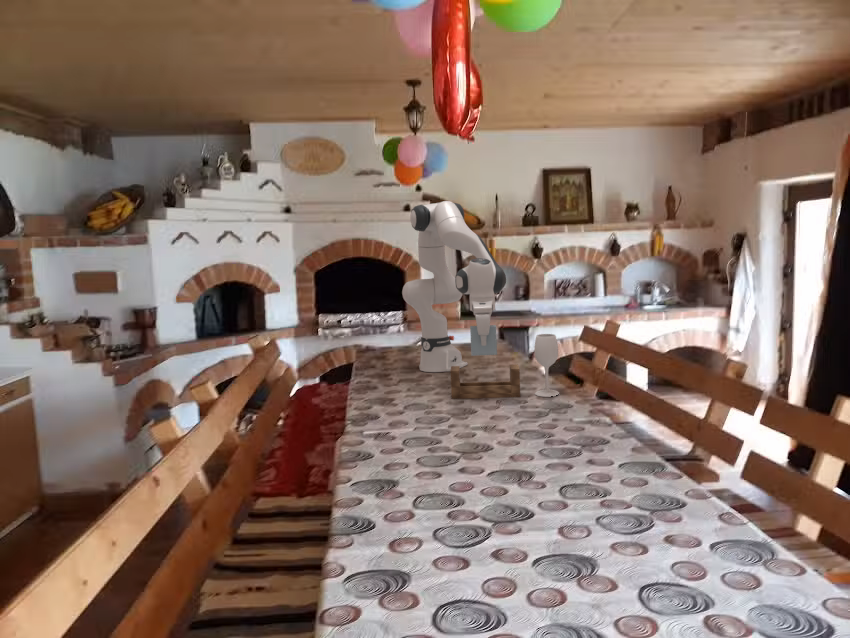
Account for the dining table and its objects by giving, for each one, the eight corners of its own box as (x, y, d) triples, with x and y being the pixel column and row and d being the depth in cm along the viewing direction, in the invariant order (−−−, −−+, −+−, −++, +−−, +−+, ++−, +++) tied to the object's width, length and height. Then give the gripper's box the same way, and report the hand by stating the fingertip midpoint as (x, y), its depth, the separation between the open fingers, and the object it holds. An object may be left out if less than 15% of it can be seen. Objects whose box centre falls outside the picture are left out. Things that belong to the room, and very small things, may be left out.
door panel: (496, 352, 233) (495, 325, 231) (497, 354, 229) (496, 326, 228) (471, 353, 233) (470, 326, 232) (471, 355, 230) (470, 327, 229)
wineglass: (558, 390, 234) (557, 332, 232) (561, 396, 226) (559, 336, 223) (533, 391, 235) (532, 333, 233) (535, 397, 227) (534, 337, 224)
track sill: (518, 391, 236) (518, 364, 235) (520, 397, 228) (519, 368, 227) (452, 393, 238) (451, 366, 237) (451, 398, 230) (450, 371, 229)
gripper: (473, 302, 239) (474, 339, 241) (473, 308, 219) (474, 349, 221) (490, 301, 239) (492, 339, 241) (492, 308, 219) (493, 348, 221)
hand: (483, 344), depth 231 cm, fingers closed on door panel, 3 cm apart
